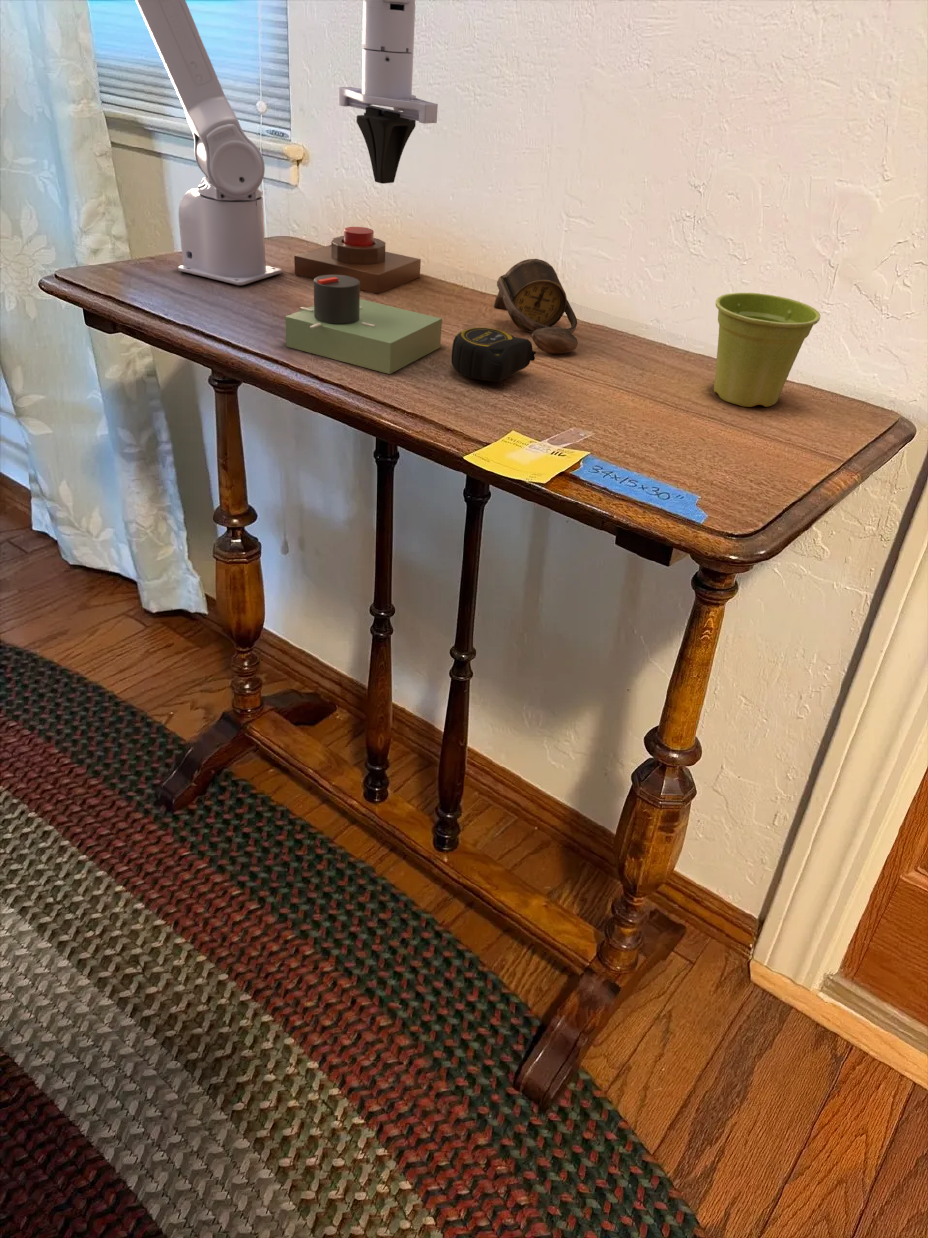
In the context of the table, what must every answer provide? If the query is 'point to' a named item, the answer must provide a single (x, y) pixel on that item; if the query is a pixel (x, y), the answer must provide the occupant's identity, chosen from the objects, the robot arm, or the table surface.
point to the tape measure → (490, 353)
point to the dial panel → (367, 336)
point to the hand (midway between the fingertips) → (384, 181)
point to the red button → (358, 236)
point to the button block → (359, 264)
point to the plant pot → (758, 345)
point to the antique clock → (537, 304)
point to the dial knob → (336, 299)
